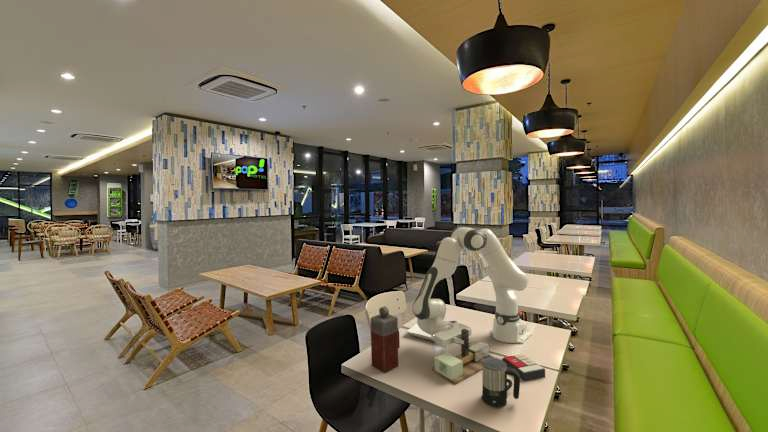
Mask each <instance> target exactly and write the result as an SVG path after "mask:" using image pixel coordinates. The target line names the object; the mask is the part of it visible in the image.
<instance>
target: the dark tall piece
mask: <svg viewBox="0 0 768 432" xmlns="http://www.w3.org/2000/svg"><path fill="white" fill-rule="evenodd" d="M469 338H470V336H469V330H467V329H462V330H461V339H463V340H465V344H460V346H461V353H460V354H458V355H456V356H454V357H456V358H458V359H460V360H462V361H463V364H465V363H467V362H469V361H471V360H473V359H475V352H473V351H471V350H469V347H470V343H469V342H470V341H469Z"/></svg>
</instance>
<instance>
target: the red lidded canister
mask: <svg viewBox="0 0 768 432" xmlns="http://www.w3.org/2000/svg"><path fill="white" fill-rule="evenodd" d="M389 310H390V309H389V308H388V307H387V306H385V305H384V306H381V307H379V309H378V311H379V314H377V315H374V316H372V317H371V318H370V345H371V346H370V347H371V348H370V349H371V351H370V352H371V354H370V356H371V367H372V366H373V368H374V369H376V370H377V369H378V370H377V371H379V370H380V371H379V372H381V373H382V372H383V374H387V373H388V372H390V371H392V370H394V369H396V368H398V367H399V349H400V347H401V346H400V343H401V342H400V330H399V325H398V324H399V323H398V321H399V319H398V317H397V316H395V315H392V314H391V313H389V312H390V311H389Z"/></svg>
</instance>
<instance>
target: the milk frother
mask: <svg viewBox="0 0 768 432" xmlns="http://www.w3.org/2000/svg"><path fill="white" fill-rule="evenodd" d="M481 364H482V370H481V372H482V373H481V374H482V378H481V379H482V390H481V391H482V394H481V400H482V402H483V403H484V404H486V405H487V406H488V407H491V408H502V407H505V406H506V405H507V404H508V401H507V399H508V391H509V390H511V388H513V390H512V391H513V392H512V395H513V398H514V399H515V400H518V399H519V397H520V385H521V379H520V376H519V373H518V372H517V371H516V370H515V369H513V368H510V367H507V364H506V363H505V362H504V361H503V360H502V359H501V358H497V357H495V358H485V359H483V360H482V361H481ZM508 376H512V377H513V381H512V380H511V379H510V378H508Z"/></svg>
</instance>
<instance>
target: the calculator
mask: <svg viewBox="0 0 768 432" xmlns="http://www.w3.org/2000/svg"><path fill="white" fill-rule="evenodd" d="M501 360H503V361H504V362H505V363H506V364H507V367H510V368H513V369H515V370H516V371H517V372H518V373H519V376H520V381H522V382H529V381H533V380H537V379H544V378H546V369H545V368H544V367H543V366H541V365H540V364H538V363H537V362H536V361H534V360H532V358H531V359H530V358H529V357H527V356H526V355H525V354H523V353H520V354H514V355H509V356H503V357H502V359H501ZM543 377H544V378H543Z"/></svg>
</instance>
